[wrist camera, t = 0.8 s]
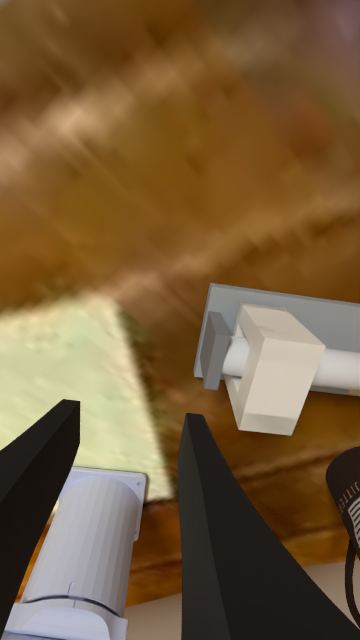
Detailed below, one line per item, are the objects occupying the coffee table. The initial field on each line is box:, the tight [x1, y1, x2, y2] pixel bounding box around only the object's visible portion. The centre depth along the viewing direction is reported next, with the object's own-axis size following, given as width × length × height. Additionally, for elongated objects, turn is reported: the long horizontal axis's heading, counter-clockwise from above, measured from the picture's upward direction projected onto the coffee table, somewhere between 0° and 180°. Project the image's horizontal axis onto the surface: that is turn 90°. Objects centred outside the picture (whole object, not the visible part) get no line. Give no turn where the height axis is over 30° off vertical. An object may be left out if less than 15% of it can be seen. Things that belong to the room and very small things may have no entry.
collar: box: [223, 303, 326, 436], centre depth 16 cm, size 6×3×5 cm, turn 172°
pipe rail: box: [194, 283, 360, 396], centre depth 18 cm, size 7×16×5 cm, turn 82°
